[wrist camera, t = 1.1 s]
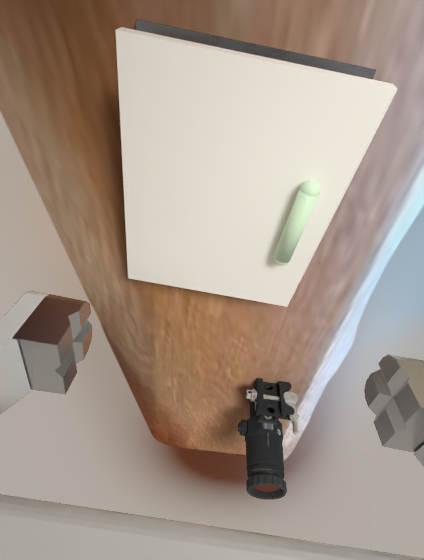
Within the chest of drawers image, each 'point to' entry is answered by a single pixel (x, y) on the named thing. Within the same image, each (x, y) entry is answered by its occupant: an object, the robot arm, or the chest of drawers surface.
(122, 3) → the chest of drawers surface
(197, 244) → the panel
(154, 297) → the chest of drawers surface
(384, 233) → the chest of drawers surface
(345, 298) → the chest of drawers surface
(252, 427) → the scope
